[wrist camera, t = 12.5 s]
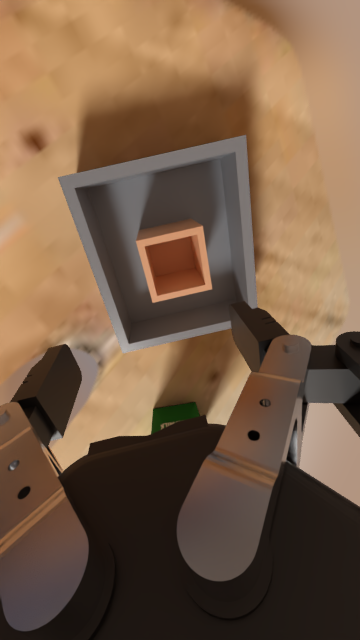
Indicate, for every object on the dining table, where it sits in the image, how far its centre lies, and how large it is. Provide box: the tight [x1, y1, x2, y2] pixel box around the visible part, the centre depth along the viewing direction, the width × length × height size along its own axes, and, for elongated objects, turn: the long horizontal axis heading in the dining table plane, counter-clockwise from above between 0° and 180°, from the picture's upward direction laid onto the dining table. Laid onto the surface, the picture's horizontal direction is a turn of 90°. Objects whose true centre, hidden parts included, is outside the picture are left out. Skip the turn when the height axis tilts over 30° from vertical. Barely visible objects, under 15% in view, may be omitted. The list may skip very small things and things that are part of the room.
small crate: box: [136, 219, 212, 303], centre depth 27 cm, size 6×6×7 cm
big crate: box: [58, 135, 258, 353], centre depth 28 cm, size 18×16×6 cm
